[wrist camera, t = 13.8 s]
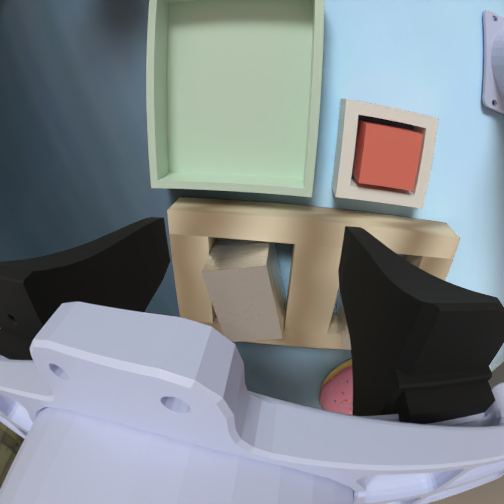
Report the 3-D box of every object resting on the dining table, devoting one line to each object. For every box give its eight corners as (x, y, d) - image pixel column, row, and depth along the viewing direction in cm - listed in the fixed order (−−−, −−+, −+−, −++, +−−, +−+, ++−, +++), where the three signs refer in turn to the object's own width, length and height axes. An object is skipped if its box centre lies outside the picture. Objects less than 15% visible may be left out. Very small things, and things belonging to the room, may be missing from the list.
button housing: (425, 115, 16) (438, 118, 14) (412, 198, 19) (422, 208, 17) (340, 98, 17) (345, 99, 15) (331, 187, 20) (335, 197, 18)
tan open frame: (446, 223, 20) (460, 238, 17) (406, 330, 25) (412, 350, 23) (179, 197, 21) (167, 210, 19) (190, 314, 27) (182, 333, 25)
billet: (271, 227, 22) (266, 265, 17) (285, 294, 25) (282, 338, 20) (218, 235, 23) (200, 272, 18) (237, 299, 25) (226, 342, 21)
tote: (320, -3, 13) (324, -16, 11) (309, 185, 20) (311, 197, 18) (165, 1, 14) (150, -8, 12) (165, 176, 21) (151, 188, 18)
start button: (410, 129, 16) (422, 134, 15) (402, 181, 18) (412, 191, 16) (358, 120, 17) (366, 123, 15) (352, 174, 18) (358, 183, 17)
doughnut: (304, 362, 29) (303, 396, 25) (410, 329, 25) (422, 362, 22) (333, 411, 33) (334, 439, 29) (418, 386, 29) (425, 414, 26)
